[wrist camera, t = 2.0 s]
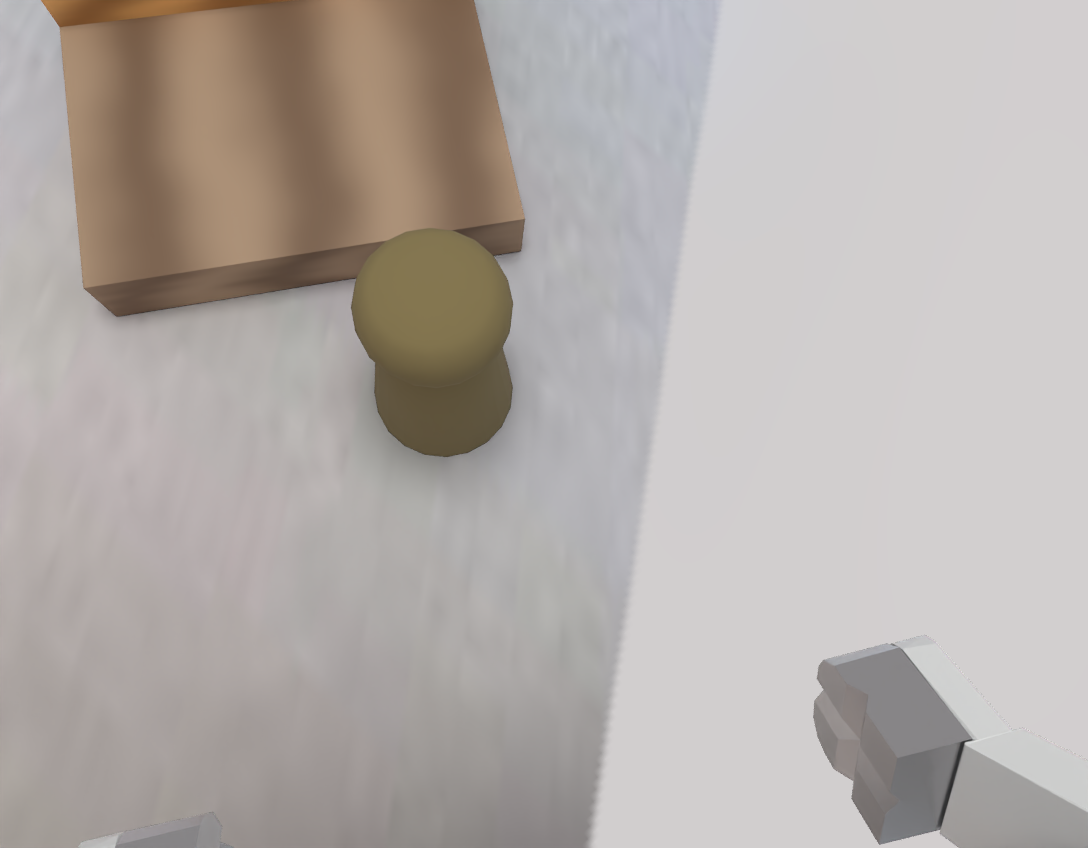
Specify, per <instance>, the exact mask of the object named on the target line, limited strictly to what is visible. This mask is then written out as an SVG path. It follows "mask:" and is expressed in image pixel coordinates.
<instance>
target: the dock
mask: <svg viewBox="0 0 1088 848" xmlns="http://www.w3.org/2000/svg"><path fill="white" fill-rule="evenodd" d="M41 1H42V2H43V4H44V5H45V7H46V8H47V10H48V11H49V12H50V14H51V15H52V17H53V18H54V20H55V21H56V22H57V24H58V25H59V27H60V36H61V47H62V58H63V69H64V80H65V91H66V102H67V113H68V124H69V135H70V146H71V157H72V168H73V179H74V190H75V201H76V212H77V223H78V233H79V244H80V255H81V266H82V277H83V288H84V289H85V290H86V291H87V292H89V293H90V294H91V295H92V296H93V297H94V298H96V299H97V300H98V301H99V302H100V303H101V304H103V305H104V306H105V307H106V308H107V309H108V310H110V311H111V312H112V313H113V314H114V315H115V316H123V315H130V314H136V313H142V312H148V311H154V310H160V309H166V308H173V307H179V306H185V305H191V304H197V303H203V302H210V301H216V300H222V299H228V298H234V297H240V296H247V295H253V294H259V293H265V292H271V291H277V290H283V289H290V288H296V287H302V286H308V285H314V284H320V283H327V282H333V281H339V280H345V279H351V278H357V276H358V274H359V273H360V271H361V269H362V267H363V265H364V263H365V262H366V260H367V258H368V257H369V256H370V255H371V254H372V253H373V252H374V251H375V250H376V249H378V248H379V247H380V246H381V245H382V244H383V243H384V242H385V241H388V240H390V239H392V238H394V237H396V236H398V235H400V234H402V233H404V232H406V231H413V230H419V229H425V228H436V229H443V230H451V231H455V232H458V233H460V234H462V235H464V236H467V237H469V238H471V239H474V240H476V241H477V242H478V243H479V244H480V245H481V246H483V247H484V248H485V249H486V250H487V251H488V252H490V253H491V254H492V255H499V254H505V253H511V252H518V251H521V247H522V238H523V230H524V222H525V217H524V213H523V209H522V204H521V200H520V196H519V192H518V187H517V183H516V179H515V174H514V170H513V166H512V162H511V157H510V153H509V149H508V144H507V140H506V136H505V132H504V127H503V123H502V119H501V114H500V110H499V106H498V102H497V97H496V93H495V89H494V84H493V80H492V76H491V72H490V67H489V63H488V59H487V54H486V50H485V46H484V42H483V37H482V33H481V29H480V24H479V20H478V16H477V12H476V7H475V3H474V0H41Z"/></svg>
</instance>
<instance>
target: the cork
mask: <svg viewBox="0 0 1088 848" xmlns="http://www.w3.org/2000/svg"><path fill="white" fill-rule="evenodd" d="M512 308H513V301H512V296H511V292H510V288H509V283H508V280H507V278H506V276H505V274H504V273H503V271H502V269H501V268H500V266H499V264H498V263H497V261H496V260H495V258H494V256H493V255H492V254H491V253H490V252H488V251H487V250H486V249H485V248H484V247H483V246H481V245H480V244H479V243H478V242H477V241H476V240H474V239H471V238H469V237H467V236H464V235H462V234H460V233H458V232H455V231H451V230H443V229H436V228H425V229H419V230H413V231H406V232H404V233H402V234H400V235H398V236H396V237H394V238H392V239H390V240H388V241H385V242H384V243H383V244H382V245H381V246H380V247H379V248H378V249H376V250H375V251H374V252H373V253H372V254H371V255H370V256H369V257H368V258H367V260H366V262H365V263H364V265H363V267H362V269H361V271H360V273H359V274H358V276H357V278H356V282H355V287H354V293H353V299H352V305H351V309H352V315H353V321H354V326H355V331H356V333H357V336H358V338H359V339H360V341H361V343H362V345H363V346H364V348H365V350H366V352H367V354H368V355H369V357H370V358H371V359H372V360H373V361H374V362H375V397H376V403H377V408H378V413H379V415H380V417H381V418H382V420H383V422H384V424H385V426H386V427H387V429H388V431H389V432H390V433H391V434H392V435H393V436H395V437H396V438H397V439H398V440H399V441H400V442H401V443H402V444H403V445H404V446H407V447H409V448H411V449H413V450H416V451H418V452H420V453H422V454H425V455H434V456H443V457H448V456H453V455H458V454H463V453H468V452H470V451H472V450H474V449H475V448H477V447H479V446H481V445H483V444H484V443H486V442H488V441H489V440H490V438H491V437H492V436H493V435H494V434H495V433H496V432H497V431H498V430H499V429H500V428H501V427H502V425H503V423H504V420H505V418H506V416H507V414H508V412H509V410H510V407H511V398H512V389H513V387H512V382H511V378H510V373H509V368H508V365H507V361H506V358H505V355H504V351H503V348H502V347H503V345H504V343H505V341H506V339H507V337H508V335H509V332H510V326H511V317H512Z"/></svg>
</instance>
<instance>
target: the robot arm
mask: <svg viewBox="0 0 1088 848" xmlns="http://www.w3.org/2000/svg"><path fill="white" fill-rule="evenodd" d="M817 679H818V681H819V683H820V684H821V686H822V688H823V689H824V690H823V691H822V692H821V694H820V695H819V696H818V697H817V698H816V700H815V702H814V716H813V718H814V722H815V727H816V731H817V736H818V739H819V741H820V743H821V746H822V748H823V750H824V753H825V754H826V756H827V758H828V760H829V761H830V763H831V765H832V767H833V768H834V769H835V770H836V771H838V772H840V773H841V774H843V775H844V776H846V777H848V778H849V779H851V780H853V790H852V800H853V802H854V804H855V805H856V807H857V809H858V810H859V812H860V814H861V815H862V817H863V819H864V820H865V822H866V824H867V825H868V827H869V829H870V830H871V832H872V833H873V835H874V837H875V839H876V840H877V842H878V843H879V844H884V843H888V842H892V841H896V840H900V839H904V838H909V837H912V836H916V835H921V834H924V833H928V832H933V831H937V830H940V834H941V835H942V836H944V837H945V838H946V839H948V840H949V841H951V842H952V843H953V844H955V845H956V846H957V847H959V848H1088V760H1087V759H1085V758H1082V757H1081V756H1078V755H1076V754H1075V753H1073V752H1071V751H1069V750H1067V749H1065V748H1063V747H1061V746H1059V745H1057V744H1055V743H1053V742H1051V741H1049V740H1047V739H1045V738H1043V737H1041V736H1039V735H1037V734H1035V733H1033V732H1031V731H1029V730H1027V729H1025V728H1019V729H1014V730H1012V729H1011V728H1010V726H1009V725H1008V724H1007V723H1006V722H1005V721H1004V719H1003V718H1002V717H1001V716H1000V715H999V714H998V713H997V711H996V710H995V709H994V708H993V707H992V706H991V704H990V703H989V702H988V701H987V700H986V699H985V698H984V696H983V695H982V694H981V693H980V692H979V691H978V690H977V688H976V687H975V686H974V685H973V684H972V683H971V681H970V680H969V679H968V678H967V677H966V676H965V674H964V673H963V672H962V671H961V670H960V669H959V668H958V666H957V665H956V664H955V663H954V662H953V661H952V660H951V658H950V657H949V656H948V655H947V654H946V653H945V651H944V650H943V649H942V648H941V647H940V646H939V645H938V643H937V642H936V641H935V640H934V639H932V638H930V637H928V636H926V635H924V636H918V637H914V638H910V639H907V640H903V641H899V642H895V643H892V644H883V645H879V646H875V647H872V648H867V649H864V650H860V651H856V652H852V653H848V654H845V655H841V656H838V657H833V658H830V659H826V660H823V661H822V663H821V664H820V665H819V668H818V675H817ZM221 832H222V825H221V824H220V822H219V820H218V819H217V817H216V816H215V814H214V812H209V813H205V814H200V815H196V816H191V817H187V818H182V819H178V820H174V821H169V822H165V823H160V824H156V825H151V826H147V827H143V828H138V829H134V830H129V831H124V832H120V833H115V834H111V835H107V836H103V837H99V838H95V839H91V840H87V841H82V842H81V844H80V845H79V847H78V848H234V847H232V846H230V845H227V844H225V843H222V842H220V839H221Z"/></svg>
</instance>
